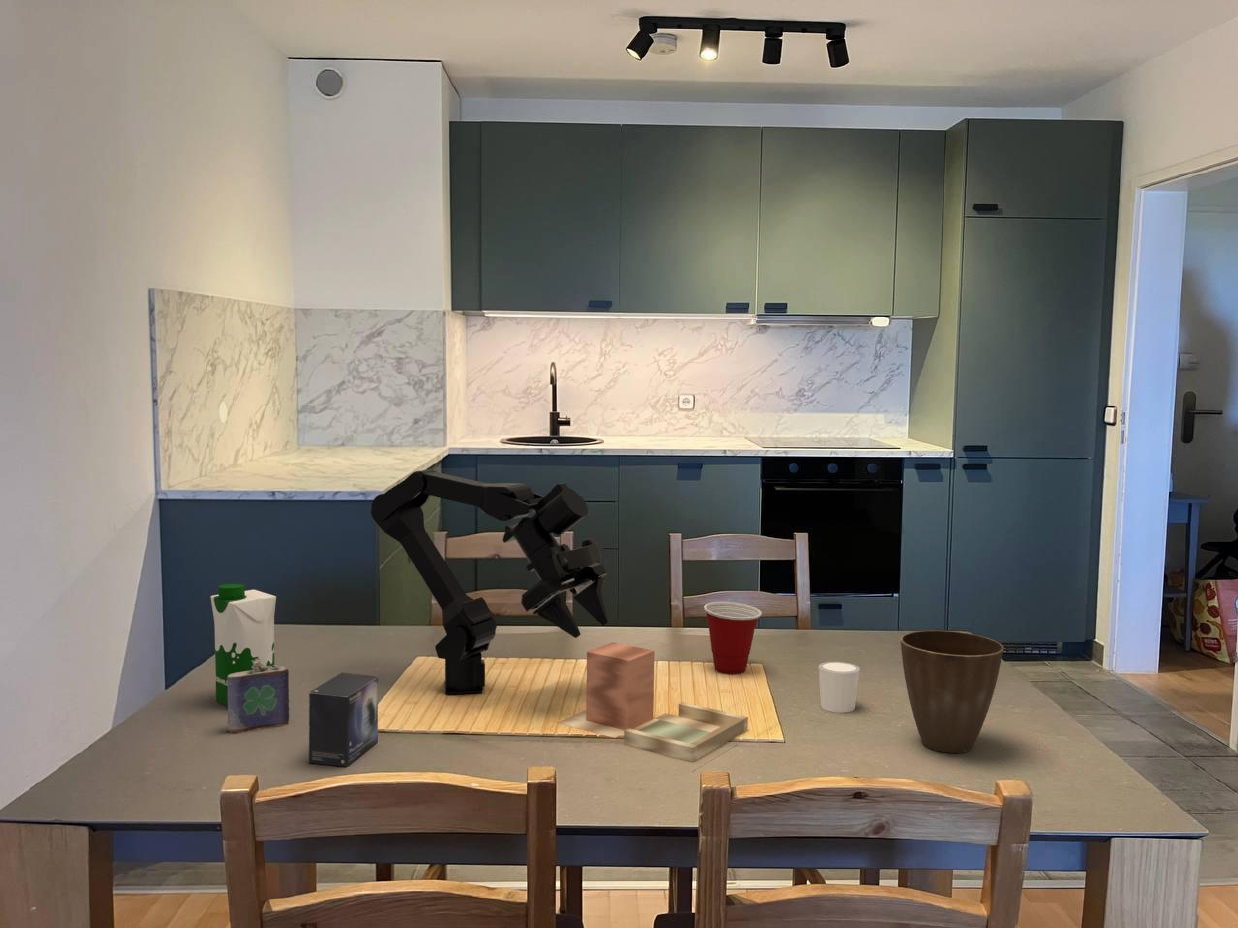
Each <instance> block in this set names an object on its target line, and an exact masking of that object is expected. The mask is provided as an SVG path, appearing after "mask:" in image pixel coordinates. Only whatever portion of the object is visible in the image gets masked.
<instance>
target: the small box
mask: <svg viewBox="0 0 1238 928" xmlns="http://www.w3.org/2000/svg"><path fill="white" fill-rule="evenodd" d="M378 742H379V677H378V675H377V676H375V675H366V674H357V673H350V672H340V673H339V674H337V675H335V676H333V677H332V678H331V679H329V680H327V681H325V682H324V683H322V684H320V685H318V686H317V687H315V688H314V689H312V690H311V691H309V692H308V762H307V763H309V764H319V765H320V764H321V765H329V766H337V767H349V765H351V764H352V763H354V762H355V761H356V760H357V759H359V758H360V757H362V755H364V754H365V753H366V752H368V751H369V750H370V749H372V748H373V746H375V745H376V744H378Z"/></svg>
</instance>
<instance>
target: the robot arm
mask: <svg viewBox="0 0 1238 928" xmlns="http://www.w3.org/2000/svg"><path fill="white" fill-rule="evenodd" d="M431 497H436V498H441V499H445V500H448V501H452V502H457V503H460V504H461V503H462V504H464V505H470V506H473V507H475V508H478V509H480V510H481V512H482V513H483V514H485V515H487V516H489V517H491V518H494V519H496V520H498V521H501V522H507V521H511V520H515V519H519V518H522V519H520V520H519V521H518V522H516V524H510V525H509V524H508V525H505V527H504V534H503V535H502V542H503V543H508V542H513V541H516V543H517V544H518V546H519V548H520V549H521V551H522V553H523V554H524V556H525V557H526V559H527V561H528V562H529V564H528V565H526V568H527V570H528V572H529V573H530V572H533V571H534V573H535V574H536V575H537V577H538V579H539V580H540V581H538V582H537V583H535V584H534V585H533V586H532V587H530V588H529V589H528V590H527V591H525V592H524V593H523V594H521V600H520V601H521V602H520V603H521V606H522V607H523V609H525V612H526V613H530V612H532V614H533V615H535V616H536V615H537V616H539V617H541V618H542V619H544V620H546V621H548V622H549V623H551V624H552V625H554V626H556V627H558V628H559V629H560V630H562V631H563V632H565V633H567V634H568V635H570V636H571V637H572V638H574V639H577V638H578V637H580V636H581V630H580V629H579V626H578V624H577V623H576V621H575V619H574V617H573V615H572V612H571V611H570V609H569V607H568V604H567V593H568V592H567V591H569V592H570V593H571V594H573V595H574V596H573V597H572V598H573V599H574V600H575V602H577V603H578V604H579V605H580V606H581V607H582V608H583V609H584V610H585V611H587V612H588V613H589V614H590V616H591V617H592V618H593V619H595V620H596V621H597V622H598V623H599V624H600V625H602V626H606V625H607V624H608V623H609V619H608V616H607V611H606V608H605V604H604V601H603V595H602V587H603V582H605V581H606V577H605V576H606V575H607V574H608V572H607V571H606V569H605V568H604V566H603V564H602V562H603V559H602V554H603V552H604V551H605V549H604V547H603V546H601V543H600V542H599V541H598V540H597V539H596V538H595V537H592V538H588V539H585V540H582V542H581V547H578V548H574V549H571V548H570V547H569V545H568V544H565V543H563V544H560V543H559V542H558V540H557V538H556V537H555V535H559V536H562V535H564V534H565V533H566V532H567V531H569V529H571V528H572V527H573V526H575V525H576V524H577V523H578V522H580V521H581V520H582V519H583V518H585V517H586V516H587V515H588V514H589V513H588V512H589V511H588V510H589V509H588V505H587V503H586V501H585V499H584V498H583V497H582V496H580V494H579V493H577V492H576V491H575V490H573V489H572V488H570V487H569V486H568V485H567V484H566V483H565V482H561V483H557V484H556V485H555V486H554V487H553V488H552V489H551V490H550V491H549V492H548V493H547V494H546V495H545V496H544V495H541V494H539V493H536V492H533V491H532V488H531V487H530V486H529V485H527V484H525V483H519V482H516V483H515V482H504V483H503V482H500V483H487V482H482V481H478V480H473V479H470V478H465V477H460V476H456V475H451V474H446V473H444V472H443V473H442V472H439V471H438V472H437V471H436V470H434V469H431V468H430V469H422V470H416V471H414V472H412V473H411V474H410V475H408V476H407V477H406V478H404V480H402V481H401V482H399V483H398V484H396V485H394V486H393V487H391V488H389V489H388V490H387V491H385V492H383V493H381V494H378V495H377V496H375V497H374V498H373V500H372V503H371V508H370V509H371V510H370V515H371V518H372V520H373V522H374V523H376V525H377V526H378V527H379V528H380V530H381V531H382V532H383V533H384V534H386V535H387V536H389V537H390V538H392V539H393V540H394V541H396V542H398V543H399V544H400V545H401V547H402V548H403V550H404V551H405V553H406V555H407V557H408V558H409V560H410V561H411V563H412V564H413V566H414V567H415V569H416V571H417V573H418V574H419V576H420V577H421V579H422V580H423V581H424V583H425V585H426V587H427V588H428V590H429V591H430V593H431V595H432V596H433V598H434V600H435V601H436V602H437V604H438V606H439V607H440V609H441V612H442V613H441V614H442V615H441V616H442V627H443V629H444V631H445V634H446V635H445V636H443V638H441V640H440V641H438V643H436V645H434V646H435V648H434V649H435V651H436V656H437V658H438V659H442V660H444V681H443V686H444V687H443V688H444V695H458V694H459V695H460V694H461V695H463V694H481V693H483V692H484V691H483V690H484V687H485V686H486V662H485V660H484V659H482V658H483V656H482V655H483V654H482V652H487V651H488V650H489V647H490V644H491V643H492V641H493V640H494V639H495V636H496V633H497V622H496V621H495V618H494V617H496V614H495V613H494V612H493V611H492V610H490V607H489V606H488V604H487V602H486V600H485V599H484V598H483V597H482V596H481V597H477V598H475V599H474V598H472V597H470V596H469V595H468V594H466V591H465V590H464V589H463V587H462V586H461V584H460V583H459V580H458V579H457V578H456V576H455V575H454V573H453V572H452V570H451V569H450V567H449V565H448V564H447V562H446V561H445V559H444V558H443V556H442V554H441V553H440V551H439V549H438V548H437V546H436V545H435V544H434V541H433V540H432V538H431V537H430V535H429V534H428V532H427V531H426V529H425V518H424V517H425V516H424V512H423V509H422V507H423V506H424V505H425V504H427V503H428V501H429V499H430V498H431ZM532 513H535V514H534V515H533V516H532V517H528V516H529V515H530V514H532ZM554 534H555V535H554Z"/></svg>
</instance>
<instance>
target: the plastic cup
mask: <svg viewBox="0 0 1238 928" xmlns="http://www.w3.org/2000/svg"><path fill="white" fill-rule="evenodd" d="M703 608H704V611H705V613H706V614H705V615H706V619H707V625H708V633H709V639H710V640H709V641H710V649H711V653H712V658H713V659H712V660H713V666H714V670H715V671H716V672H718V673H721V674H727V675H739V674H743V673H745V672H746V669H747V666H748V662H749V655H750V654H751V648H752V644H753V640H754V633H755V629H756V628H757V624H758V621H759V619H760V617H761V616H762V614H763V612H762V611H761V610H760V609H759V608H757V607H755V606H752V605H749V604H745V603H739V602H731V601H712V602H708V603H706V604H705V605H704V606H703Z"/></svg>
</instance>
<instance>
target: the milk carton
mask: <svg viewBox="0 0 1238 928" xmlns="http://www.w3.org/2000/svg"><path fill="white" fill-rule="evenodd" d="M245 589H246V588H245V584H244V583H240V582H228V583H223V584H220V585H219V586H218V594H214V595H210V604H211V610H212V615H213V622H214V657H215V659H214V661H215V665H214V666H215V702H217V703H220V704H222V705H223V706H225V707H227V708H228V685H227V677H228V675H230V674H233V673H237V672H244V671H250V670H253V669H252V666H253V662H254V661H255V659H258V658H260V660H261V661H260V663H261V664H263V665H265V666H272V667H274V666H273V665H275V617H274V616H275V610H276V602H277V596H275V595H273V594H269V593H266V592H263V591H260V590H258V589H249V590H245ZM252 660H253V662H252ZM272 667H269V668H272Z"/></svg>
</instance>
